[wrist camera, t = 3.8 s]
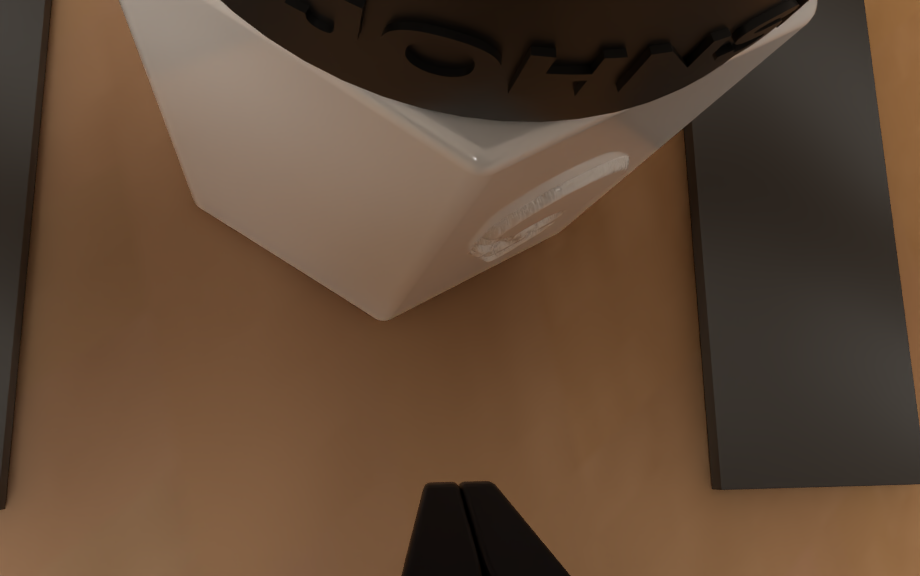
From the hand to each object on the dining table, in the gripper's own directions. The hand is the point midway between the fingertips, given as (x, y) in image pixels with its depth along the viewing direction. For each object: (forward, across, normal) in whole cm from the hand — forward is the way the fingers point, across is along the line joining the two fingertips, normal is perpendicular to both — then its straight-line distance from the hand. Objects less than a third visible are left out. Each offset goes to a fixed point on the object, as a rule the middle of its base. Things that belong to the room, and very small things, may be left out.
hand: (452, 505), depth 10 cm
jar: (+10, 0, -1) cm, 10 cm away
